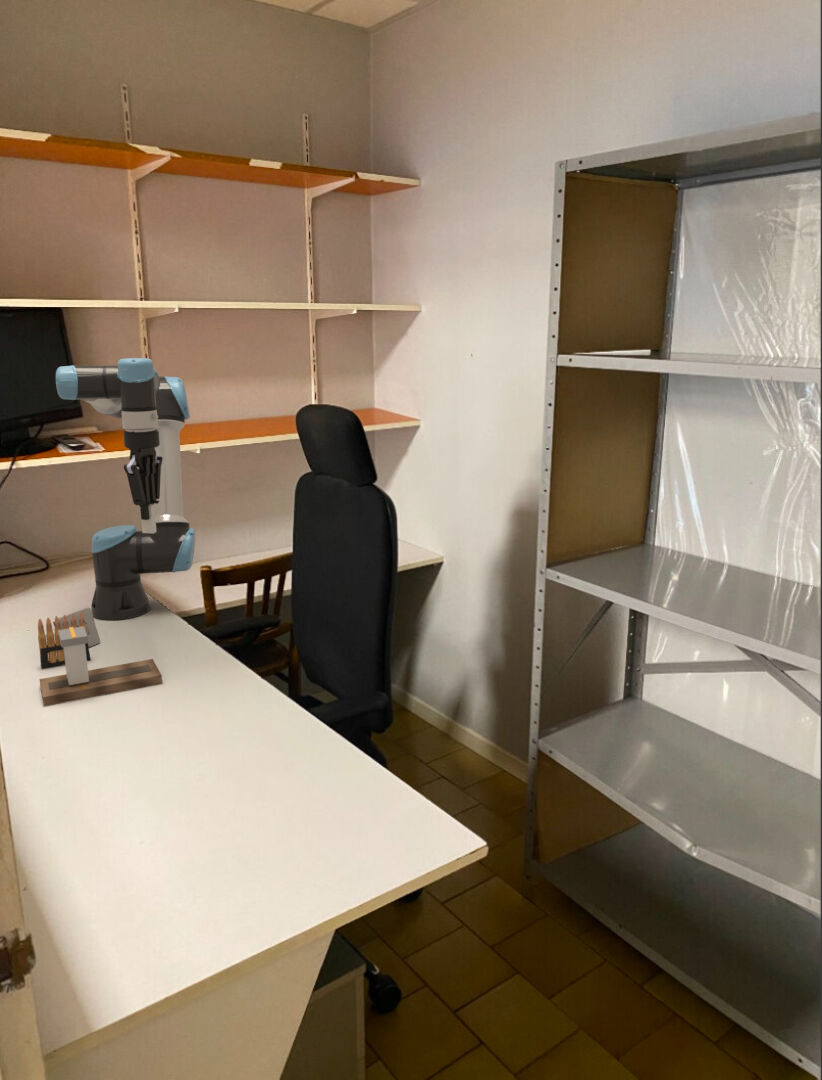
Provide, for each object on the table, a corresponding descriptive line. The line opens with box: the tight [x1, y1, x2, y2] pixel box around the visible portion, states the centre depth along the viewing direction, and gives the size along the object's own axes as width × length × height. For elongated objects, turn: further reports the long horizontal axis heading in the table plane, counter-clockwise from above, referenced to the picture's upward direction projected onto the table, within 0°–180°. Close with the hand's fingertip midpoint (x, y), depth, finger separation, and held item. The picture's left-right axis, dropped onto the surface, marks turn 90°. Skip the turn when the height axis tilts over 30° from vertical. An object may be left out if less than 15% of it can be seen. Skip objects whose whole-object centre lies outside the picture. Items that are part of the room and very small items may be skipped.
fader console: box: [39, 658, 163, 707], centre depth 180 cm, size 24×10×2 cm, turn 117°
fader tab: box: [58, 626, 89, 685], centre depth 177 cm, size 5×6×11 cm
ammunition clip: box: [37, 612, 92, 670], centre depth 191 cm, size 11×2×12 cm, turn 119°
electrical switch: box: [52, 607, 101, 648], centre depth 201 cm, size 9×5×9 cm, turn 152°
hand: (149, 532), depth 189 cm, fingers closed
